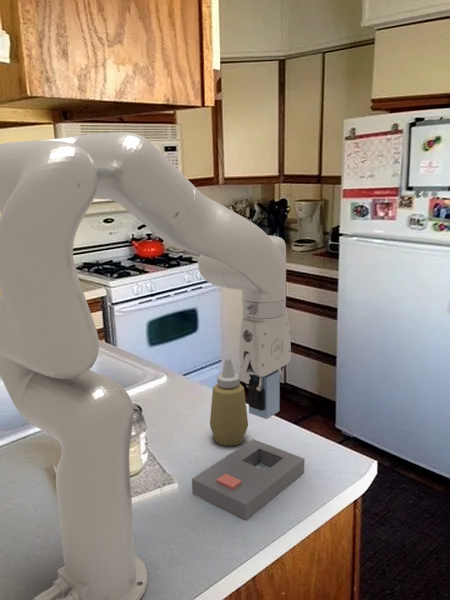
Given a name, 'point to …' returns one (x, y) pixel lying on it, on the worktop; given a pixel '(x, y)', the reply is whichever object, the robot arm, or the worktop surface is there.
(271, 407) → the plug
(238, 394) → the squeeze bottle
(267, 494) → the power strip
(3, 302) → the robot arm
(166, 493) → the worktop surface
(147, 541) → the worktop surface
